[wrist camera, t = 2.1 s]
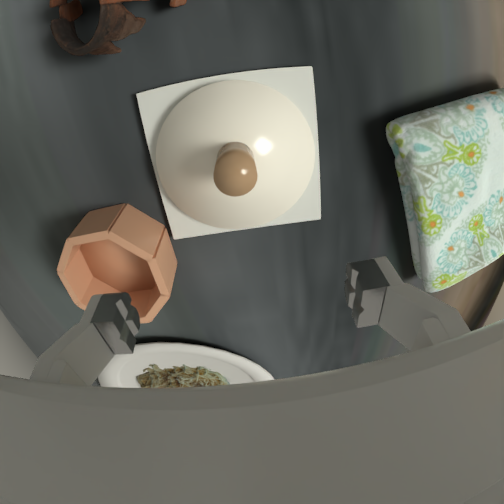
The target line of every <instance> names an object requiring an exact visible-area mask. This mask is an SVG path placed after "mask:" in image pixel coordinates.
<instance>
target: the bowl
mask: <svg viewBox="0 0 504 504" xmlns="http://www.w3.org/2000/svg"><path fill="white" fill-rule="evenodd" d="M164 226H165V225H163V224H161V223H160V222H158V221H156V220H154V219H153V218H151V217H149V216H148V215H146V214H144V213H143V212H141V211H139V210H138V209H136V208H134V207H133V206H131V205H129V204H127V205H126V204H125V203H124V204H119V205H114V206H110V207H106V208H101V209H97V210H93V211H89V212H88V213H87V214H86V215H85V216H84V218H83V219H82V220H81V221H80V223H79V224H78V225H77V226H76V228H75V229H74V230H73V232H72V233H71V234H70V236H69V237H68V238H67V240H66V242H65V245H64V248H63V251H62V254H61V257H60V261H59V264H58V267H57V271H58V272H57V274H58V275H59V277H60V279H61V281H62V283H63V284H64V286H65V288H66V290H67V291H68V293H69V295H70V296H71V298H72V300H73V301H74V303H75V304H78V305H77V306H78V307H80V308H81V309H83V310H85V309H86V307H87V305H88V303H89V301H90V298H91V296H93V295H97V294H107V293H120V292H126V293H128V294H129V295H130V297H131V299H132V301H131V305H132V306H134V307H135V308H136V309H137V311H138V313H139V317H140V323H149V322H151V321H152V320H153V319H154V317H155V316H156V315H157V313H158V312H159V311H160V309H161V308H162V307H163V306H164V304H165V303H166V302H167V300H168V299H169V298H170V294H171V289H172V285H173V280H174V276H175V272H176V267H177V260H176V257H175V254H174V250H173V247H172V244H171V241H170V238H169V235H168V232H167V228H164Z"/></svg>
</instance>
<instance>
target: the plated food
mask: <svg viewBox="0 0 504 504" xmlns="http://www.w3.org/2000/svg"><path fill="white" fill-rule="evenodd" d="M98 380H99V383H100V385H101V387H121V388H178V387H201V386H217V385H230V384H241V383H250V382H259V381H268V380H275V379H274V378H273V377H272V375H271V374H270V373H269V372H268V371H266V370H265V369H264V368H263V367H261V366H260V365H259V364H257V363H255V362H253V361H251V360H249V359H247V358H245V357H242V356H239V355H237V354H234V353H231V352H228V351H225V350H221V349H216V348H212V347H208V346H203V345H196V344H188V343H180V342H152V343H142V344H135V348H134V351H133V354H117V355H114V357H113V358H112V359H111V361H110V362H109V363H108V364H107V366H106V367H105V368H104V370H103V371H102V372H101V373H100V375H99V376H98Z"/></svg>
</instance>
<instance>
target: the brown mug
mask: <svg viewBox="0 0 504 504" xmlns="http://www.w3.org/2000/svg"><path fill="white" fill-rule="evenodd" d="M129 1H149V0H99V3H100V6H101V7H100V16H99V22H98V26H97V29H96V31H95V34H94V36H93V37H92V39H91V40H90V42H88V43H87V44H84V43H83V42H82V41H81V40H80V39H79V38H78V37H77V34H76V30H75V25H74V20H76V19H77V18H78V17H79V16H80V15H81V14H82V13H83V9H82V5H81V3H80V1H79V0H73V1H72V2H70V3H67V0H50V7H51V8H53V7H56V6H59V15H60V19H53V20H52V21H51V30H52V33H53V36H54V37H55V39H56V41H57V43H58V44H59V45H60V47H61V48H63V49H64V50H65V51H67V52H68V53H70V54H72V55H77V56H83V55H85V54H87V53H90V54H93V55H99V54H114V53H120V52H121V49H120V48H118V47H116V46H114V44H113V43H112V42H111V41H118V40H121V39H124V38H126V37H127V36H129V35H130V34H134V33H137V32H139V31H140V30H141V28H142V27H143V26H144V24H145V22H146V19H145V18H139V17H135V16H134V15H133V14H132V13H130V12H129V11H128V10H127V9H126V8H125V7H124V6H123V5H122V2H129ZM186 2H187V0H170V6H171V7H178V6H179V5H184V4H185V3H186Z"/></svg>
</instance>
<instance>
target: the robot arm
mask: <svg viewBox="0 0 504 504" xmlns="http://www.w3.org/2000/svg"><path fill="white" fill-rule="evenodd" d="M346 274H347V277H348V278H347V279H346V281H345V285H344V291H345V298H346V301H347V304H348V306H349V307H351V308H352V317H353V319H354V322H355V324H356V327H357V328H360V327H365V326H371V325H376V324H379V326H380V327H381V328H383V329H384V330H385V331H386V332H388V333H389V334H390V335H391V336H393V337H394V338H395V339H396V340H398V341H399V342H400V343H401V344H402V345H404V346H405V347H406V348H407V349H409V350H410V352H407V353H404V354H400V355H396V356H393V357H389V358H385V359H381V360H377V361H373V362H368V363H364V364H360V365H355V366H351V367H346V368H341V369H336V370H331V371H326V372H320V373H315V374H309V375H303V376H296V377H290V378H283V379H276V380H268V381H259V382H250V383H241V384H230V385H217V386H201V387H178V388H121V387H98V386H91V385H92V384H93V382H94V381H95V380H96V378H97V377H98V376H99V375H100V373H101V372H102V371H103V370H104V368H105V367H106V366H107V364H108V363H109V362H110V361H111V359H112V358H113V357H114V355H117V354H133V351H134V348H135V344H136V339H135V337H134V336H135V335H136V334H137V333H138V332H139V328H140V317H139V313H138V311H137V309H136V308H135V307H134V306H132V305H131V301H132V299H131V297H130V295H129V294H128V293H126V292H120V293H107V294H97V295H93V296H91V298H90V301H89V303H88V305H87V307H86V309H85V311H84V314H83V316H82V318H81V320H80V323H79V324H75V325H74V326H73V327H72V328H71V329H70V330H68V331H67V332H66V333H65V334H64V335H63V336H62V337H61V338H59V339H58V340H57V341H56V342H55V343H54V344H53V345H52V346H51V347H49V348H48V349H47V350H46V351H45V352H44V353H43V354H42V355H41V356H40V357H39V358H38V360H37V363H36V365H35V367H34V370H33V372H32V375H31V377H30V380H29V379H23V378H17V377H11V376H5V375H0V504H504V319H502V320H500V321H497V322H495V323H492V324H490V325H488V326H485V327H482V328H480V329H477V330H475V331H472V332H471V331H470V330H469V328H468V326H467V325H466V323H465V322H464V320H463V318H462V317H461V315H460V314H459V312H458V311H457V309H455V308H453V307H451V306H449V305H448V304H446V303H444V302H442V301H440V300H438V299H437V298H435V297H433V296H431V295H429V294H427V293H426V292H424V291H422V290H420V289H418V288H416V287H414V286H412V285H410V284H409V283H403V281H402V280H401V278H400V277H399V275H398V274H397V272H396V271H395V269H394V268H393V266H392V265H391V263H390V262H389V260H388V259H387V257H385V256H383V257H378V258H373V259H369V260H363V261H357V262H351V263H347V265H346Z"/></svg>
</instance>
